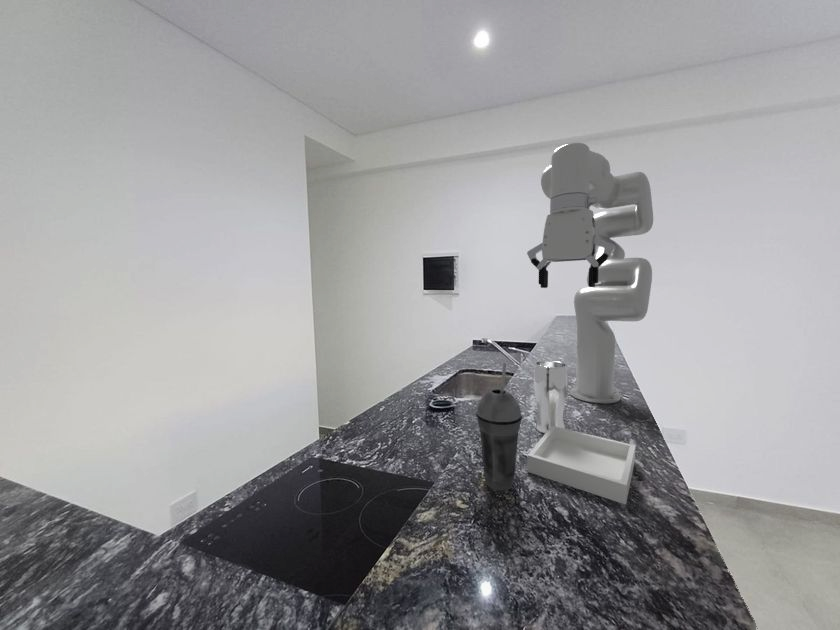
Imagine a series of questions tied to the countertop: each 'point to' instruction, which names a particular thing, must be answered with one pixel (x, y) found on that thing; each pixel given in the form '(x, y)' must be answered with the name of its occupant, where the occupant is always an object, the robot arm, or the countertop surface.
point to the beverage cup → (499, 435)
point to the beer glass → (550, 393)
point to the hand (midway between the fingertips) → (566, 287)
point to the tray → (584, 462)
